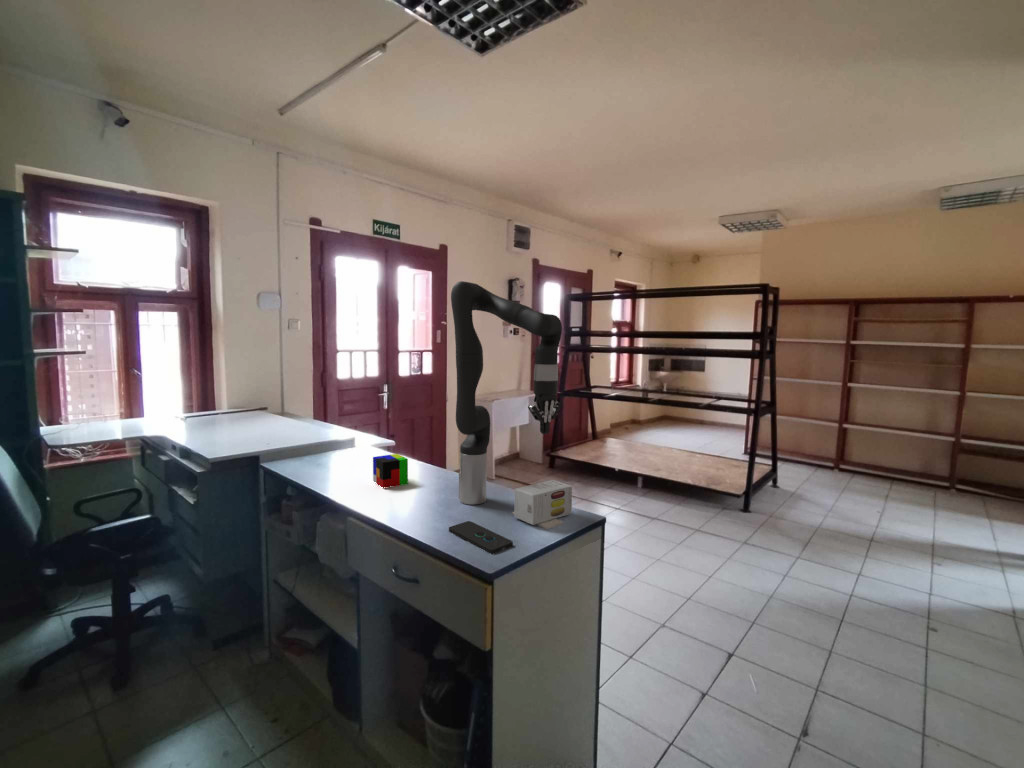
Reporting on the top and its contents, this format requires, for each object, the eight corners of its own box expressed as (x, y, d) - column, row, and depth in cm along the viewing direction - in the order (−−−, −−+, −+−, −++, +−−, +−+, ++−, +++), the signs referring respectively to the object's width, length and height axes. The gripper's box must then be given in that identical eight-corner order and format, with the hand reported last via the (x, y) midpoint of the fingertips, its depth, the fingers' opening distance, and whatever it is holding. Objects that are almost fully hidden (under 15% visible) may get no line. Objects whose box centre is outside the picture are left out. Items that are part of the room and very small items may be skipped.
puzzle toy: (373, 482, 184) (373, 457, 183) (397, 477, 190) (397, 453, 189) (382, 488, 176) (382, 462, 175) (407, 484, 182) (407, 458, 181)
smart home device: (491, 550, 123) (447, 527, 138) (491, 556, 124) (447, 532, 138) (514, 541, 129) (469, 519, 144) (514, 547, 129) (469, 525, 144)
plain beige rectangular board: (512, 513, 153) (512, 511, 153) (528, 509, 157) (528, 507, 157) (546, 529, 141) (546, 527, 141) (563, 523, 145) (563, 521, 145)
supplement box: (532, 495, 140) (572, 484, 151) (513, 487, 148) (553, 478, 158) (533, 526, 141) (572, 513, 151) (513, 517, 148) (553, 506, 159)
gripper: (552, 377, 153) (551, 429, 155) (521, 378, 145) (520, 434, 147) (569, 378, 148) (568, 433, 149) (538, 380, 139) (537, 438, 141)
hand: (544, 433), depth 148 cm, fingers closed
